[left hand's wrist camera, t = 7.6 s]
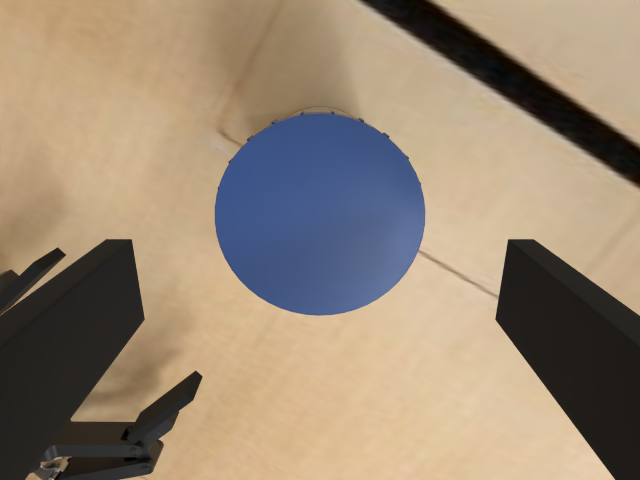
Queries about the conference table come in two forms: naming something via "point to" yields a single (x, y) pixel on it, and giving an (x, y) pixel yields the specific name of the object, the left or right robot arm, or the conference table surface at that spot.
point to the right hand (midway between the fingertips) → (127, 324)
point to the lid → (319, 213)
